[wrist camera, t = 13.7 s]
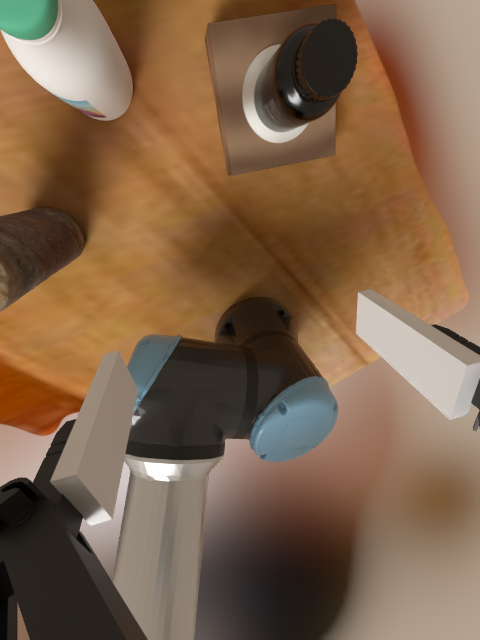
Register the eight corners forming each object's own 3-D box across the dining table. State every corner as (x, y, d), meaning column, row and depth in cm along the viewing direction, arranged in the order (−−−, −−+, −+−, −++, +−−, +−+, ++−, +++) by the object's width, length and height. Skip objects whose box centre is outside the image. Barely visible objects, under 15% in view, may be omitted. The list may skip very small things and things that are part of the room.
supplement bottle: (313, 120, 34) (373, 97, 23) (262, 142, 34) (299, 128, 23) (301, 48, 30) (365, -18, 20) (244, 71, 30) (278, 19, 20)
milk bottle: (101, 18, 29) (-14, -207, 12) (147, 99, 33) (111, 19, 16) (43, 59, 30) (-147, -97, 12) (95, 135, 34) (4, 95, 16)
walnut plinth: (321, 156, 40) (336, 154, 36) (227, 175, 38) (232, 175, 35) (319, 21, 33) (337, 2, 29) (205, 39, 31) (208, 21, 28)
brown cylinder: (14, 208, 36) (-144, 243, 18) (72, 200, 36) (-26, 225, 19) (42, 265, 39) (-67, 337, 22) (94, 256, 40) (29, 319, 23)
